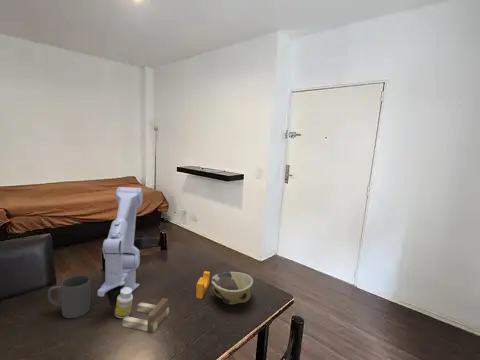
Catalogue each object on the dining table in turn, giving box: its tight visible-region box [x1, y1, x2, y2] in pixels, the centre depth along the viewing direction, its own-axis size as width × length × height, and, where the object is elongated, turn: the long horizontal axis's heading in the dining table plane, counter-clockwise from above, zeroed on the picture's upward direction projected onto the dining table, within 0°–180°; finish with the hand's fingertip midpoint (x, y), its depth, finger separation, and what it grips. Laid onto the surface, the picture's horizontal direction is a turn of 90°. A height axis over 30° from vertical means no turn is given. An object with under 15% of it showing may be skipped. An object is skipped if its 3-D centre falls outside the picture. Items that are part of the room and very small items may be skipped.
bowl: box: [210, 271, 254, 305], centre depth 115 cm, size 18×18×10 cm
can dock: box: [122, 297, 170, 334], centre depth 99 cm, size 12×11×6 cm
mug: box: [47, 274, 91, 319], centre depth 100 cm, size 14×9×12 cm
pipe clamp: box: [195, 270, 211, 300], centre depth 121 cm, size 12×4×6 cm, turn 172°
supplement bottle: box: [114, 287, 134, 319], centre depth 100 cm, size 5×5×10 cm
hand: (113, 304), depth 102 cm, fingers closed, pressing on supplement bottle
